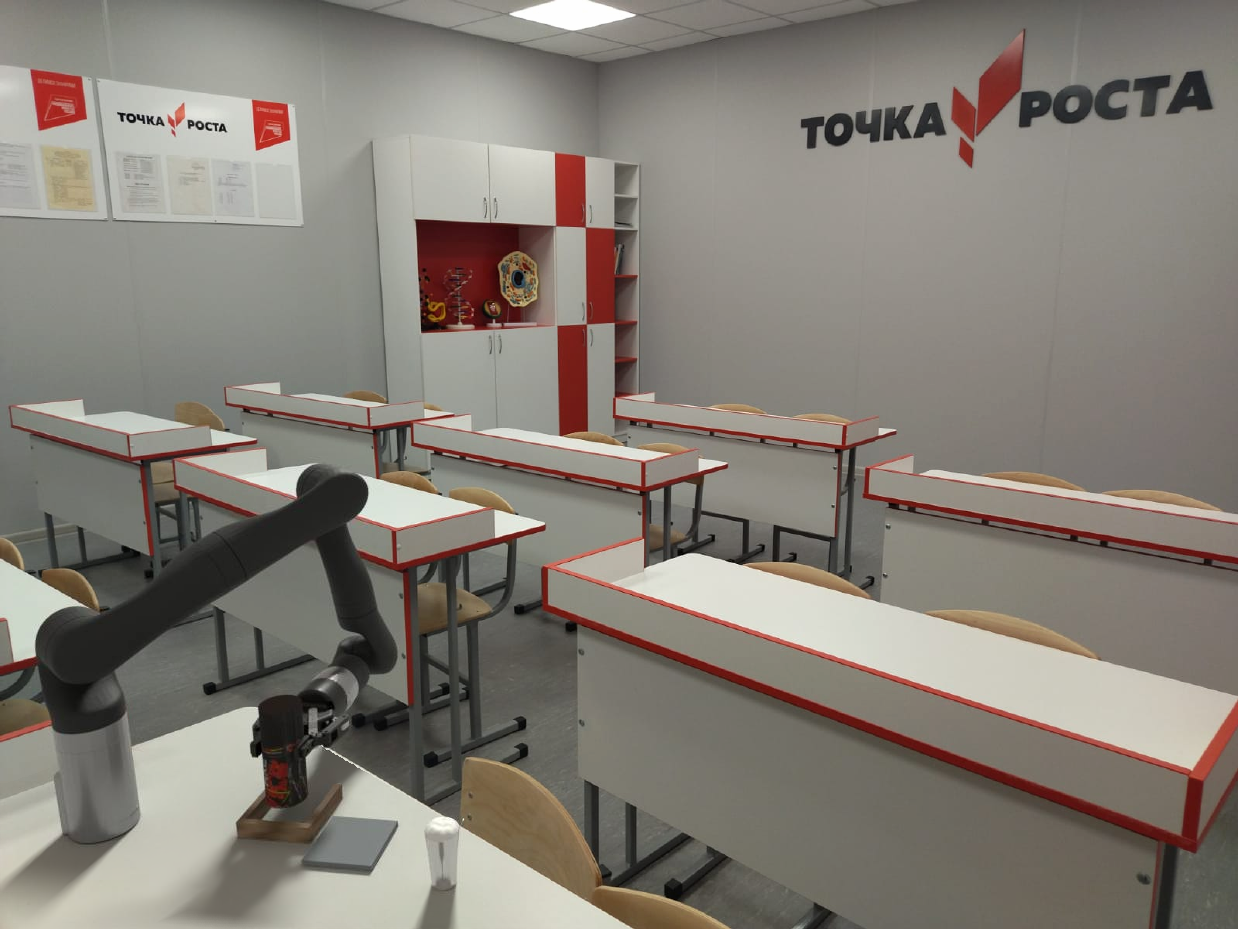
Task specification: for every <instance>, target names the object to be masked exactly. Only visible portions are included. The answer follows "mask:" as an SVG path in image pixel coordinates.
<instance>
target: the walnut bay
mask: <svg viewBox="0 0 1238 929" xmlns="http://www.w3.org/2000/svg"><path fill="white" fill-rule="evenodd" d="M343 799H344V798H343V784H342V783H334V784H333V786H332V788H331V789H330V790H329V791H328V793H326V795H325V797H324V798H323V799H322V800H321V802H320V803H319V805H318V806H317V807H316V808H315V810H314V811H313V812H312V813H311V815H310V817H308V819H307V820H306V822H304V823H303V822H294V821H283V820H282V821H280V820H269V819H268V820H267V819H262V817H263V816H264V815H265V814H266V813H267V812H268V810H269V809H270V808H271V807H270V806H268V805H267V803H266V795H265V789H264V790H263V791H262V792H261V793H260V795H259V796H258V797H257V798H256V799H255V800H254V801H253V802H252V803H251V805H250V806H248V808H247V809H245V811H244V812H243V813H242V815H241V816H239V818H238V820H236V821H235V827H236V834H237V838H238V839H250V840H251V839H252V840H262V841H276V842H284V843H285V842H287V843H295V844H296V843H298V844H299V843H300V844H309V845H310V844H311V843H312V841H314V839H315V838H316V836H318V833H319V832H321V829H322V828H323V827H324V825H325V824H326V822H327V821H328V820H329V818H330V816H332V814H333V813H334V811H335V810H336V809H337V807H338V806H339V804H340V803H341V801H342V800H343Z"/></svg>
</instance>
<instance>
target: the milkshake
mask: <svg viewBox="0 0 1238 929" xmlns="http://www.w3.org/2000/svg"><path fill="white" fill-rule="evenodd" d="M464 820H465V818H463V819H462V821H461V823H460V824H459V823H458V821H457V820H455V819H454V818H451V817H449V816H438V817H435V818H433V819H430V820H429V822H428V823H427V825H426V826H425V827H424V830H423V832H424V838H425V840H424V841H425V844H426V851H427V857H428V864H429V871H430V878H431V885H432V887H433V888H434V889H435V890H438V891H446V890H451V889H452V888H453V887H454V886H456V884H457V880H458V877H457V876H458V875H457V874H458V855H459V854H458V852H459V841H460V840H459V839H460V829H461V826H462V824H463V822H464Z"/></svg>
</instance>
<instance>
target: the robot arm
mask: <svg viewBox="0 0 1238 929" xmlns="http://www.w3.org/2000/svg"><path fill="white" fill-rule="evenodd" d="M369 492H370V491H369V485H368V483H367V481H366V480H365V479H364V478H363V476H361V475H360V474H358V473H357V472H355V471H353V470H350V469H348V468H345V467H342V466H337V465H335V464H331V463H325V462H324V463H323V462H321V463H319V462H318V463H314V464H311V465H309V466H308V467H307V468H305V469H304V470H303V471H301V473H300V475H299V477H298V478H297V480H296V486H295V495H296V499H294V500H293V501H291V502H289V503H288V504H286V505H284V506H282V507H279V508H277V509H274V510H272V511H268V512H265V513H262V514H261V513H260V514H258V515H255V516H251V517H248V518H243V519H241V520H237V521H235V522H231V523H229V524H227V525H224V526H222V527H220V528H217V529H215V530H213V531H212V532H210V533H208V534H206V535H205V536H203V537H202V538H200V539H198V540H196V541H195V542H193V543H191V544H189V545H188V546H187V547H185V548H183V549H182V550H181V551H179V552H178V553H177V554H176V555H175V556H174V557H173V558H172V559H171V560H170V561H169V562H168V563H167V564H166V565H165V566H164V567H163V568H162V570H160V572H159V573H158V574H157V575H156V576H155V578H153V580H151V581H150V582H149V583H148V585H146V586H145V587H144V588H143V589H142V590H139V592H137V593H136V594H134V595H133V596H131V597H129V598H128V599H126V600H124V601H123V602H120V603H119V604H117V605H115V606H113V607H112V608H109V609H108V610H105V611H103V612H102V613H101V612H100V613H99V612H98V611H96V610H94V609H92V608H90V607H86V606H81V605H74V606H66V607H63V608H60V609H59V610H57V611H56V610H55V612H53V613H51V614H50V615H49V616H48V617H46V618H45V619H44V621H43V622H42V623H41V625H40V626H39V628H38V630H37V632H36V635H35V641H34V648H35V649H34V650H35V652H34V653H35V659H36V663H37V664H36V665H37V670H38V675H39V681H40V685H41V691H42V692H41V693H42V697H43V701H44V704H45V706H46V709H47V712H48V715H49V718H50V723H51V729H52V735H53V742H54V746H55V754H56V760H57V767H58V771H57V772H56V773H55V774H54V775H53V784H54V791H55V797H56V803H57V807H58V808H57V810H58V815H59V820H60V822H59V823H60V827H61V834H62V835H66V836H67V835H68V836H69V837H70V839H71V840H72V841H74V842H76V843H80V844H95V843H100V842H101V843H102V842H105V841H108V840H111V839H114V838H116V837H118V836H120V835H124V833H126V832H128V831H129V830H130V829H132V828H133V827H135V825H136V824H137V823H138V822H139V820H140V818H141V814H142V813H141V808H140V807H141V806H140V800H139V793H138V790H139V789H138V786H137V777H136V770H135V761H134V756H133V747H132V741H131V735H130V734H131V733H130V726H129V720H128V713H127V705H126V704H127V703H126V698H125V693H124V690H123V689H122V687H121V685H120V683H119V680H118V677H117V675H116V670H117V669H119V668H120V667H121V666H122V665H124V664H125V663H127V662H128V661H129V660H130V659H132V658H133V657H134V656H136V655H137V654H138V653H140V652H141V651H142V650H143V649H145V648H146V647H147V646H149V645H150V644H151V643H152V642H154V641H155V640H156V639H157V638H159V637H160V636H162V635H163V634H166V632H167V631H169V630H171V629H173V628H174V627H175V626H177V625H179V624H180V623H182V622H184V621H185V620H187V619H188V618H190V617H191V616H194V615H195V614H197V613H198V612H199V611H201V610H203V609H204V608H206V607H208V606H209V605H210V604H212V603H214V602H216V601H217V600H218V599H220V598H223V597H224V596H226V595H228V594H229V593H230V592H232V591H234V590H235V589H237V588H238V587H241V586H242V585H243V584H245V583H247V582H248V581H250V579H252V578H254V577H255V576H257V575H258V574H259V573H261V572H263V571H264V570H266V569H268V568H270V567H271V566H272V565H274V564H276V563H277V562H279V561H280V560H282V559H283V558H285V557H287V556H288V555H290V554H291V553H293V552H294V551H296V550H297V549H299V548H300V547H302V546H304V545H306V544H307V543H309V542H312V541H313V540H314V543H315V545H316V547H317V550H318V553H319V556H320V558H321V562H322V565H323V568H324V570H325V574H326V578H327V581H328V585H329V590H330V592H331V598H332V602H333V606H334V610H335V613H336V614H335V615H336V617H337V622H338V625H339V627H340V628H341V629H342V630H343V631H347V632H350V633H354V634H358V635H352V636H351V635H350V636H348V637H345V638H344V639H342V640H341V641H340V642H339V643H338V645H337V648H336V651H335V654H334V656H333V659H332V661H331V663H329V665H328V666H327V667H326V668H324V670H323V671H321V672H319V673H318V674H317V675H316V676H314V678H312V679H311V680H310V682H308V683H307V685H306V686H304V688H303V689H302V690H300V691H299V693H297V694H296V696H298V697H300V699H301V700H302V713H303V726H304V737H303V739H302V740H301V741H300V742H299V743H298V744H297V745H296V746H295V747H294V761H301V760H302V759H303V758H305V757H308V756H309V755H310V754H311V753H312V751H313V750H317V749H318V748H319V746H323V748H324V749H329V748H330V747H332V746H333V745H334V744H335V743H337V742H338V741H339V740H340V739H341V738H342V737H343V736H345V735H346V734H347V733H348V732H349V731H350V718H349V717H350V716H349V714H348V713H346V712H348V710H349V708H350V707H351V706H352V705H353V703H354V701H355V700H356V699H357V697H358V696H359V695H360V693H361V692H362V691H363V690H364V689H365V687H366V686H367V685H368V682H369V680H370V675H371V676H373V675H385V674H388V673H390V672H391V671H393V670H394V668H395V666H396V665H397V661H398V658H399V656H398V654H399V653H398V651H399V650H398V646H397V643H396V640H395V638H394V636H393V634H392V633H391V631H390V629H389V627H388V626H387V624H386V622H385V621H384V619H383V617H382V615H381V613H380V611H379V608H378V603H377V600H376V599H377V598H376V595H375V590H374V586H373V582H372V579H371V576H370V573H369V571H368V569H367V568H366V565H365V564H364V563H365V562H364V561H363V559H362V558H361V554H359V551H358V550H357V548H356V546H355V544H354V541H353V538H352V537H351V536H352V535H351V534H350V531H349V527H348V523H349V522H351V521H353V520H354V519H355V518H356V517H358V515H360V513H362V511H363V510H364V508H365V507H366V505H367V503H368V500H369V499H368V498H369ZM251 729H252V741H251V742H250V743H249V749H250V750H249V752H250V755H251V758H255V759H258V758H259V757H260V756H262V748H261V737H260V725H259V716H258V717H257V718H256V720H255V721H254V723H253V724H252V726H251Z"/></svg>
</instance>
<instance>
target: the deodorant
mask: <svg viewBox="0 0 1238 929" xmlns="http://www.w3.org/2000/svg"><path fill="white" fill-rule="evenodd" d="M257 712H258V717H259V725H260V737H261V748H262V754H261V759H262V768H263V771H262V772H263V780H264V782H263V783H264V790H265V795H266V803H267V805H268V806H270V808H272V809H275V810H276V809H279V810H282V809H283V810H285V809H288V808H289V809H290V808H293V807H295V806H298V805H300V804H301V803H303V802H304V801H305V800H306V799H307V798H308V796H309V783H308V770H307V769H308V768H307V758H306V757H305V758H303V759H302V760H301V761H294V747H295V746H296V745H297V744H298V743H299V742H300V741H301V740H302V739H303V737H304V726H303V713H302V700H301V699H300V697H298V696H297V695H294V694H279V695H275V696H271V697H268V698H266V699H264V700H263V701H261V702H260V703H259V704H258V706H257Z"/></svg>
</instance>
